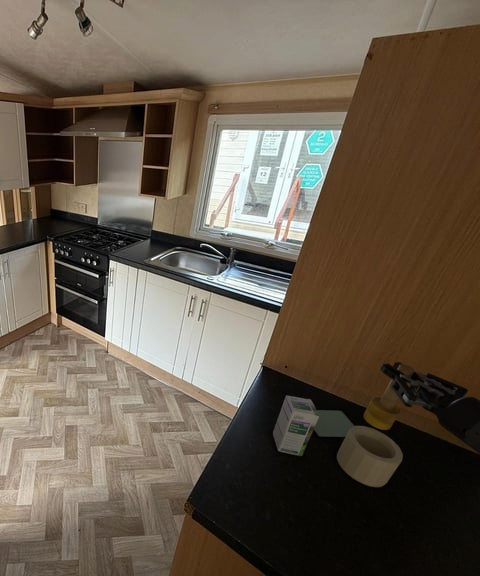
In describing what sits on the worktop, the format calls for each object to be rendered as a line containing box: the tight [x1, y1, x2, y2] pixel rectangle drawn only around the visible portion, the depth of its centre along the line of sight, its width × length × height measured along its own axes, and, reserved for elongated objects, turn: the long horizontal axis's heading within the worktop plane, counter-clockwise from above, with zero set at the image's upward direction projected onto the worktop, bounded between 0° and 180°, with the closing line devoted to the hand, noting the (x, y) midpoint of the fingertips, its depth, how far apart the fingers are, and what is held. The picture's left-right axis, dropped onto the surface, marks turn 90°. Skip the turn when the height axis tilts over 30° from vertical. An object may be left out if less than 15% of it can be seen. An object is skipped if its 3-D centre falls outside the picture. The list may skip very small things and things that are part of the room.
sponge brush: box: [362, 363, 416, 431], centre depth 69 cm, size 5×5×16 cm
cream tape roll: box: [336, 425, 404, 488], centre depth 75 cm, size 10×10×9 cm
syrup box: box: [272, 394, 319, 457], centre depth 79 cm, size 6×6×14 cm
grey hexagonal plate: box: [313, 409, 355, 438], centre depth 88 cm, size 12×9×1 cm
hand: (389, 365), depth 69 cm, fingers closed on sponge brush, 2 cm apart
